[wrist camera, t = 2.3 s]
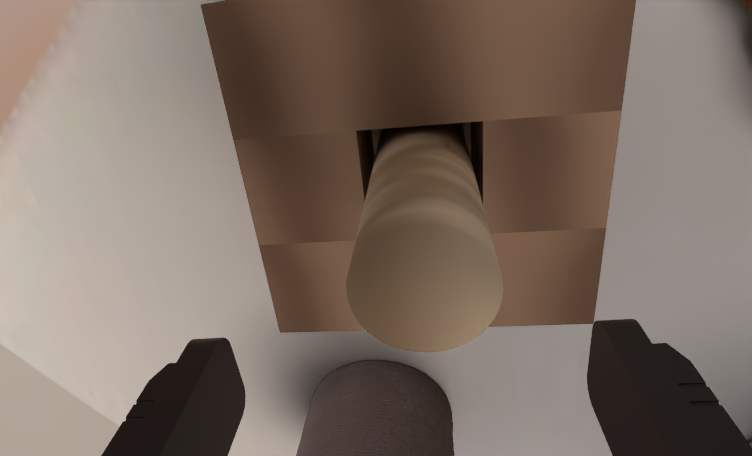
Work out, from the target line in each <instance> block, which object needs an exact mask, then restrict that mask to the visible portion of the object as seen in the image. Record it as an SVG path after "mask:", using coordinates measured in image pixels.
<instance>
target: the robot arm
mask: <svg viewBox="0 0 752 456" xmlns="http://www.w3.org/2000/svg"><path fill="white" fill-rule="evenodd" d="M705 383H706V382H705V381H704V380H703V378H702V377H701V375H700V374H699V373H698V371H697V370H696V368H695V367H694V366H693V364H692V363H691V361H690V360H688V359H687V358H686V357H684V356H683V355H681V354H680V353H679V352H677V351H676V350H675V349H673V348H672V347H671V346H669V345H668V344H667V343H659V344H652V343H651V342H650V340H649V338H648V337H647V335H646V334H645V332H644V331H643V329H642V327H641V326H640V324H639V323H638V322H637V321H636V320H634V319H624V320H604V321H595V322H594V325H593V329H592V337H591V346H590V355H589V364H588V372H587V384H588V392H589V397H590V400H591V404H592V406H593V409H594V411H595V414H596V416H597V419H598V421H599V423H600V426H601V428H602V431H603V433H604V435H605V438H606V440H607V443H608V445H609V447H610V450H611V452H612V455H613V456H752V441H751V442H750V443H748V442H747V440H746V439H745V437H744V436H743V435H742V433H741V432H740V430H739V429H738V427H737V426H736V425H735V423H734V422H733V420H732V419H731V418H730V416H729V415H728V413H727V412H726V411H725V409H724V408H723V406H722V405H719V403H718V399H717V398H716V397H715V395H714V394H713V392H712V391H711V390H710V388H709V387H706V384H705ZM244 407H245V389H244V385H243V381H242V378H241V375H240V372H239V369H238V366H237V363H236V360H235V357H234V354H233V351H232V348H231V345H230V342H229V341H228V340H227V339H226V338H210V339H193V340H191V341H190V342H189V343H188V344H187V346H186V348H185V349H184V351H183V353H182V354H181V356H180V358H179V359H178V361H177V363H169V364H167V365H166V366H165V367H164V368H163V369H162V370H161V371H160V372H158V373H157V374H156V375H155V376H154V377H153V378H152V379H151V380H149V382H148V383H147V385H146V386H145V388H144V390H143V391H142V393H141V394H140V396H139V397H138V399H137V403H136V405H133V407H132V409H131V410H130V412H129V413H128V415H127V416H126V421H125V422H123V423H122V424H121V426H120V427H119V429H118V431H117V432H116V434H115V435H114V437H113V438H112V440H111V442H110V443H109V445H108V446H107V448H106V449H105V451H104V453H103V454H102V456H227V455H228V453H229V450H230V447H231V445H232V442H233V439H234V437H235V434H236V432H237V429H238V426H239V424H240V421H241V418H242V416H243V412H244Z"/></svg>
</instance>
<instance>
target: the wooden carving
mask: <svg viewBox="0 0 752 456" xmlns="http://www.w3.org/2000/svg"><path fill="white" fill-rule="evenodd" d="M739 1H740V2H741V3H742V4H743V5H745V7H746V8H747V9H748V10H749V11H750V12H751V13H752V0H739Z"/></svg>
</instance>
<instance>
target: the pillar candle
mask: <svg viewBox="0 0 752 456" xmlns="http://www.w3.org/2000/svg"><path fill="white" fill-rule="evenodd" d="M452 432H453V422H452V411H451V408H450V404H449V402H448V399H447V397H446V395H445V394H444V392H443V391H442V389H441V388H440V387H439V386H438V385H437V384H436V383H435V382H434V381H433V380H432V379H431V378H429V377H428V376H427V375H425V374H424V373H422V372H420V371H418V370H416V369H415V368H412V367H408V366H406V365H403V364H400V363H395V362H389V361H361V362H356V363H351V364H349V365H345V366H342V367H340V368H338V369H336V370H335V371H333V372H331V373H330V374H328V375H327V376H326V377H325V378H324V379H323V380H322V381H321V383H320V384H319V386H318V387H317V389H316V391H315V393H314V395H313V397H312V400H311V403H310V407H309V411H308V415H307V418H306V421H305V425H304V428H303V433H302V437H301V440H300V444H299V447H298V451H297V455H296V456H454V450H453V435H452Z"/></svg>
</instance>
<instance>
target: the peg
mask: <svg viewBox="0 0 752 456" xmlns="http://www.w3.org/2000/svg"><path fill="white" fill-rule="evenodd" d="M346 292H347V299H348V303H349V306H350V308H351V311H352V313H353V314H354V316H355V318H356V319H357V321H358V322H359V323H360V324H361V326H362V327H363V328H364V329H365V330H366V331H367V332H369V333H370V334H371V335H373V336H374V337H375V338H377V339H379V340H380V341H382V342H384V343H386V344H388V345H390V346H393V347H396V348H399V349H403V350H407V351H414V352H437V351H443V350H448V349H451V348H455V347H458V346H460V345H463V344H465V343H467V342H469V341H470V340H472V339H474V338H475V337H477V336H478V335H479V334H481V333H482V332H483V331H484V330H485V329H486V328H487V327H488V326H489V325H490V323H491V322H492V321H493V319H494V318H495V316H496V315H497V313H498V310H499V308H500V305H501V302H502V298H503V279H502V275H501V271H500V267H499V263H498V259H497V256H496V252H495V248H494V245H493V241H492V237H491V233H490V230H489V226H488V222H487V218H486V215H485V211H484V207H483V204H482V200H481V196H480V192H479V189H478V185H477V181H476V177H475V174H474V170H473V166H472V163H471V159H470V155H469V151H468V148H467V144H466V140H465V137H464V133H463V129H462V127H461V125H460V123H451V124H438V125H425V126H412V127H399V128H386V129H382V131H381V135H380V139H379V143H378V147H377V152H376V156H375V160H374V164H373V169H372V173H371V177H370V181H369V186H368V190H367V194H366V199H365V203H364V207H363V211H362V216H361V220H360V224H359V228H358V233H357V237H356V241H355V246H354V250H353V254H352V258H351V263H350V267H349V271H348V275H347V282H346Z"/></svg>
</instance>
